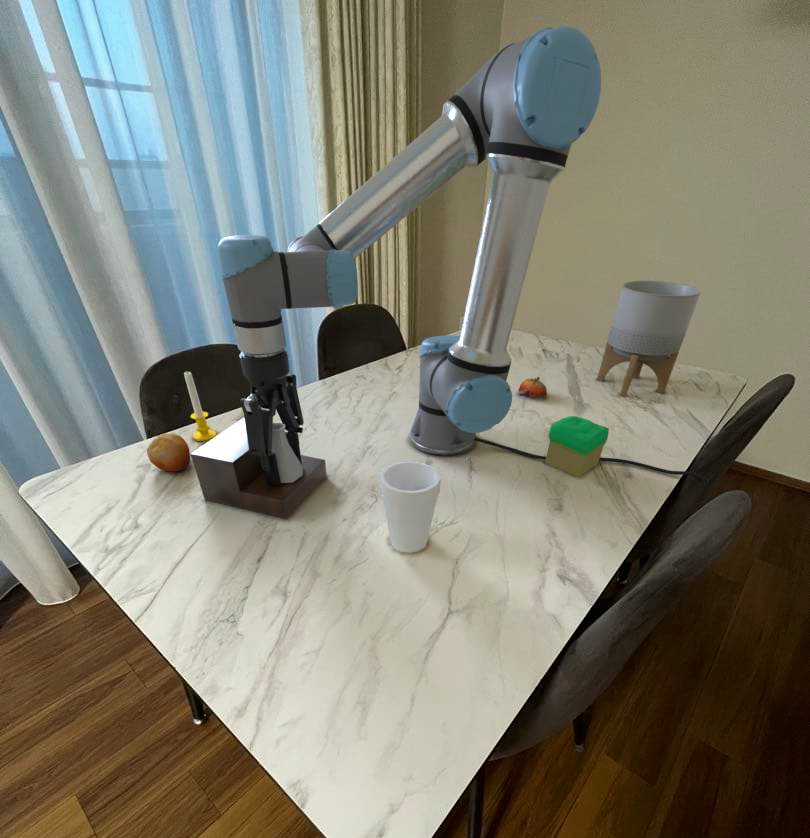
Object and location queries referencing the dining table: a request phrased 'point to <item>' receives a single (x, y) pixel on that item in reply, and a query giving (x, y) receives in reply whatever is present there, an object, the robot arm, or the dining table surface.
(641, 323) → the planter
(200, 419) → the candle
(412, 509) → the foam cup
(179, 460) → the fruit
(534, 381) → the tomato
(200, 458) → the spice riser
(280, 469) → the flask
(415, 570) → the dining table surface
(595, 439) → the cake
